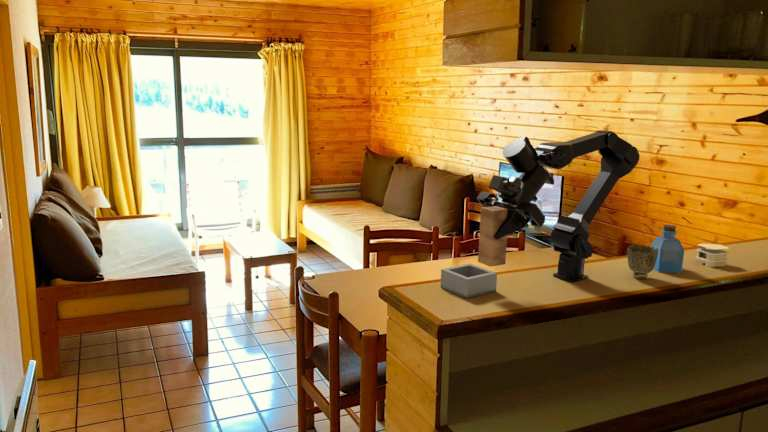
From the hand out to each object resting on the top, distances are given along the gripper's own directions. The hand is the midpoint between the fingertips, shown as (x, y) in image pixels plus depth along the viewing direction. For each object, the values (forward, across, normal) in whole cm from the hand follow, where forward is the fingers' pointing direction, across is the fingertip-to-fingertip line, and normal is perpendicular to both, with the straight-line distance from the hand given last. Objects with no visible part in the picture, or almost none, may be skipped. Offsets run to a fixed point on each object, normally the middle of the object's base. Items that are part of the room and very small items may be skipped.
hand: (488, 236), depth 145 cm
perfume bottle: (-30, +7, +50) cm, 59 cm away
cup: (-21, +9, +41) cm, 47 cm away
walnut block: (+4, 0, +6) cm, 7 cm away
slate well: (+11, -5, +9) cm, 15 cm away
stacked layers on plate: (-41, +10, +61) cm, 74 cm away
